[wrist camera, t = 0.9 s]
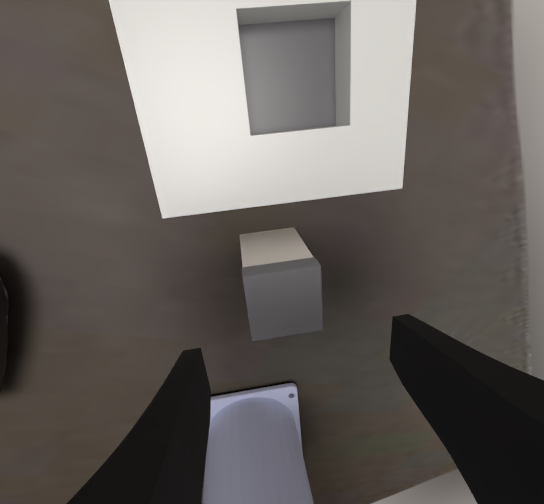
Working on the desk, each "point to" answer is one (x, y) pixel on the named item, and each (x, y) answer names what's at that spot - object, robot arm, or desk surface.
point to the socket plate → (268, 97)
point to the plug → (280, 284)
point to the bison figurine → (3, 330)
